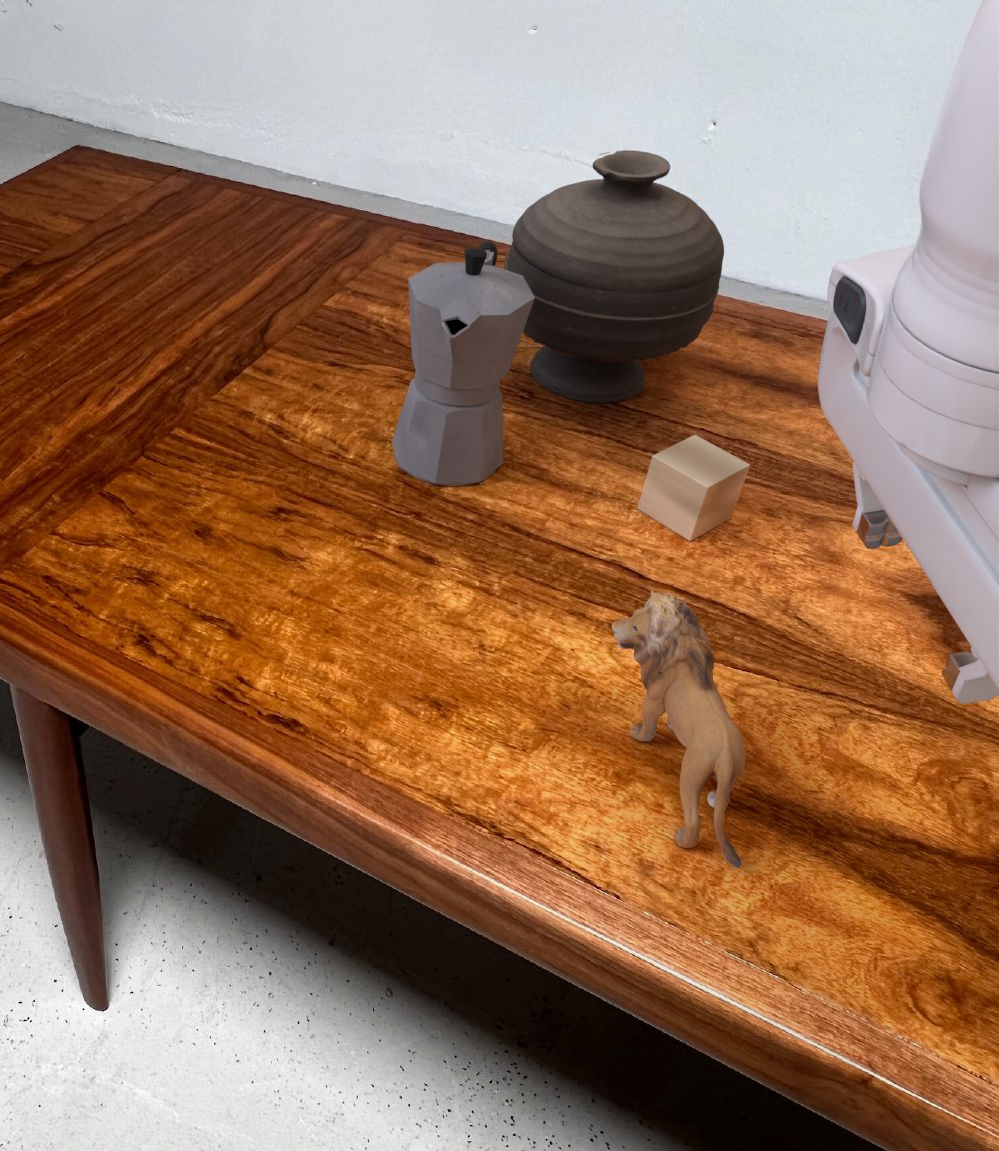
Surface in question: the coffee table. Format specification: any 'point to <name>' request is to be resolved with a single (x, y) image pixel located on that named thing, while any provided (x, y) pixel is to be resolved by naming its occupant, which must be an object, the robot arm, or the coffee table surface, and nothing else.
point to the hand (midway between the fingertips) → (919, 608)
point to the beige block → (692, 487)
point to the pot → (614, 276)
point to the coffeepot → (460, 367)
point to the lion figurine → (685, 708)
